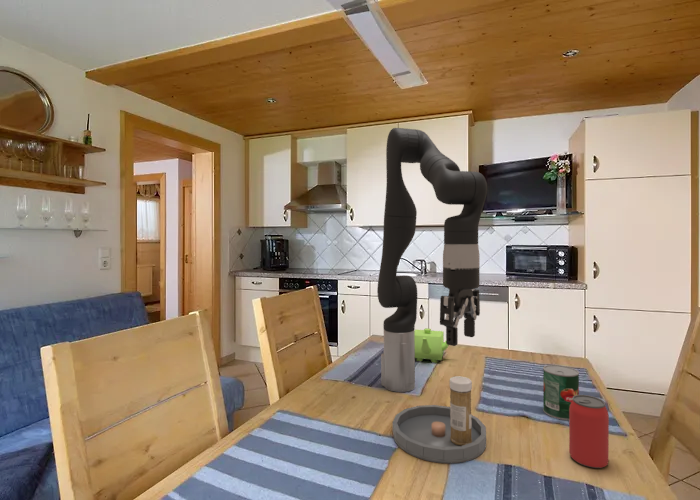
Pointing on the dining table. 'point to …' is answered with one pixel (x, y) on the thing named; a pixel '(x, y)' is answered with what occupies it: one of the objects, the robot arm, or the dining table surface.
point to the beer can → (589, 431)
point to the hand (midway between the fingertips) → (460, 340)
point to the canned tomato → (559, 390)
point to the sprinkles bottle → (460, 410)
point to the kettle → (429, 345)
